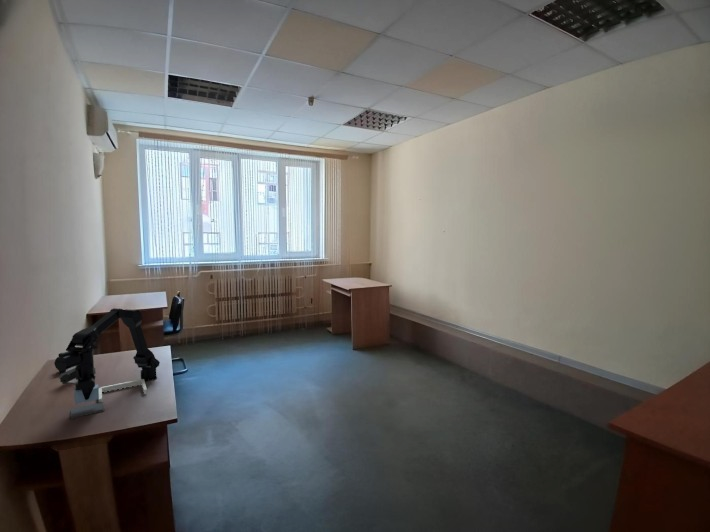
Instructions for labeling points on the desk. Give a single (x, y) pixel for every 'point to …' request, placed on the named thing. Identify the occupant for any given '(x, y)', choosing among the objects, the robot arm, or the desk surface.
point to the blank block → (80, 397)
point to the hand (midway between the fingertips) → (87, 397)
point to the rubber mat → (86, 409)
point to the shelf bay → (122, 385)
